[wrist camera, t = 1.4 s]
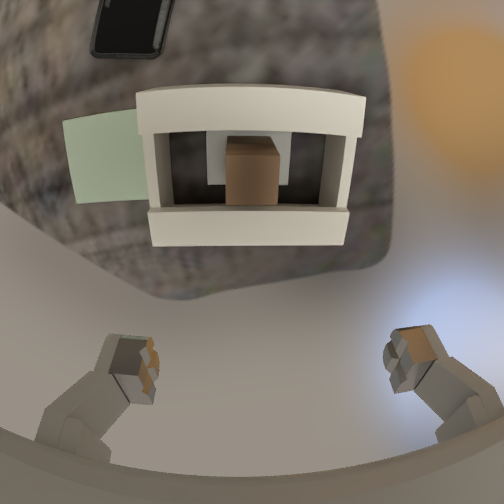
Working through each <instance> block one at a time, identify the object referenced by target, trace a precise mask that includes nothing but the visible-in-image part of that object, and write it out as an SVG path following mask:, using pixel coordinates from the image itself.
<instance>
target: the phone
mask: <svg viewBox="0 0 504 504" xmlns="http://www.w3.org/2000/svg"><path fill="white" fill-rule="evenodd" d="M174 1H175V0H100V2H99V6H98V10H97V14H96V18H95V23H94V28H93V33H92V38H91V43H90V54H91V55H92V56H93V57H95V58H141V59H154V58H156V57H158V56H159V55H160V54H161V53H162V51H163V48H164V43H165V39H166V34H167V30H168V25H169V21H170V17H171V13H172V9H173V5H174Z"/></svg>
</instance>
